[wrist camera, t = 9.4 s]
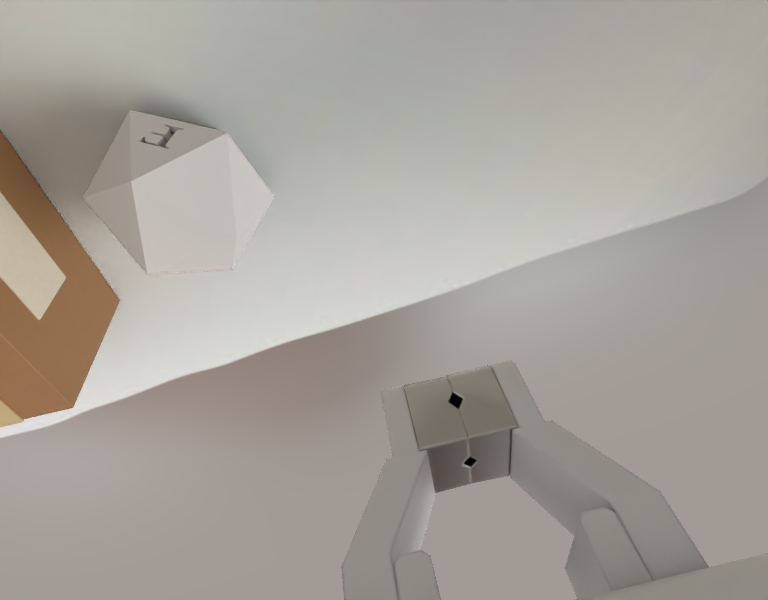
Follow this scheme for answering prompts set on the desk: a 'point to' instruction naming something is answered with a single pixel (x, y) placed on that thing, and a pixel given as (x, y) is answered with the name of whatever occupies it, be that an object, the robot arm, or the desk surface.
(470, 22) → the desk surface
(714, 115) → the desk surface
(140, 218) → the die
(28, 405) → the carton
